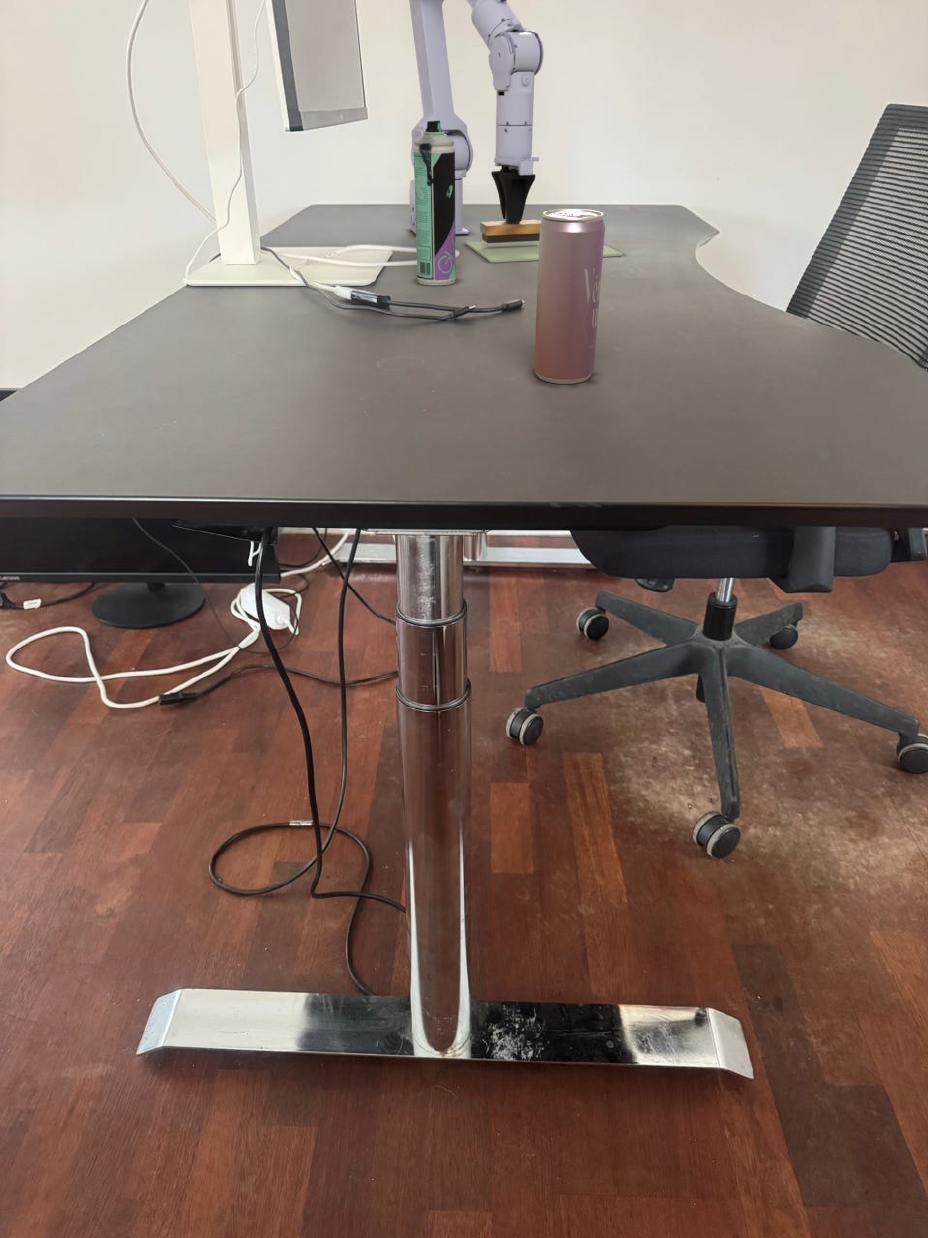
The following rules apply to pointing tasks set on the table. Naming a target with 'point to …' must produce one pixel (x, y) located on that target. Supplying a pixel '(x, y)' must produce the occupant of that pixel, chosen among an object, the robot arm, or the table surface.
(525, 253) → the mat
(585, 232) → the beverage can
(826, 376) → the table surface
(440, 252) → the spray can
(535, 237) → the brush
